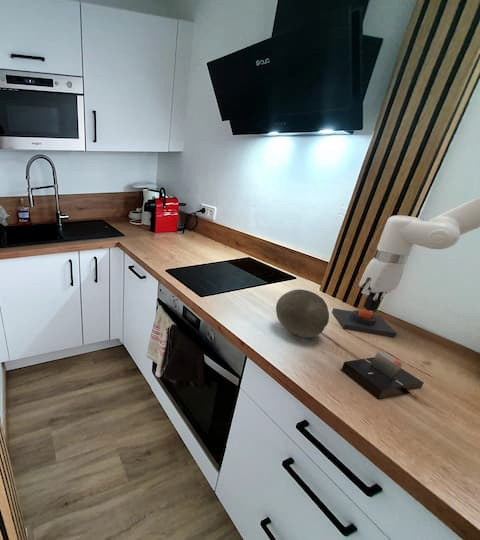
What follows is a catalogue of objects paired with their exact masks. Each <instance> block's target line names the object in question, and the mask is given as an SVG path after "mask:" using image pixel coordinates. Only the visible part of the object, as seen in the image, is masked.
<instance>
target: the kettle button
mask: <svg viewBox="0 0 480 540" xmlns="http://www.w3.org/2000/svg"><path fill="white" fill-rule="evenodd" d="M358 310H359V312H358V315H359V316H361V317H364V318H367V319H371V318H372V315H374V313H373V311H370V310H368V309H366V308H360V309H358Z"/></svg>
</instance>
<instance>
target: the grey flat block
mask: <svg viewBox="0 0 480 540" xmlns="http://www.w3.org/2000/svg"><path fill="white" fill-rule="evenodd" d="M359 310H360V309H355V310H352V311H351V310H347V309H342V308H341V309H340V308H334V307H333V308H332V310H331V314H332V316H333V317H334V319H336V321H337V323H338V324H339V325H340V327H341V329H342V330H346V331H351V332H356V333H357V332H358V333H362V334H363V333H364V334H368V335H375V336H381V337H387V338H391V339H395V338H396V335H397V334H398V333H397V331H395V330H394V329H393V328H392V326H391V325H389V324H388V323H387V321H386V320H385V319H383V317H382V316H381V315H379V314H373V315H372V318H371V319H367V318H364V317H361V316H359V315H358V312H359Z"/></svg>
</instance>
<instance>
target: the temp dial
mask: <svg viewBox="0 0 480 540" xmlns="http://www.w3.org/2000/svg"><path fill="white" fill-rule="evenodd" d="M374 357H375V358H374V360H373V362H372V364H371V366H373V367H374V368H376V369H377V370H378V371H380V372H381V373H383V374H384V375H386V376H387V377H389V378H390V379H393V378H396V376H397V374H398V372H399V370H400V368H402V367H403V363H402V362H401V361H399V359H398V360H397V359H395V358H394V357H392V356H390V355H389V354H387V353H386V352H384V351H382V350H380V351H376V354H375V355H374Z"/></svg>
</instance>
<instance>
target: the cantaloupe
mask: <svg viewBox="0 0 480 540" xmlns="http://www.w3.org/2000/svg"><path fill="white" fill-rule="evenodd" d="M275 312H276V317H277V320H278V321H279V323H280V324H281V325H282V326H283V328H285V329H286V331H288V332H289V333H291V334H293V335H295V336H298V337H301V338H314V337H318V336H319V335H321V334H322V333H323V332H324V330H325V328H326V327H327V326H328V324H329V320H330V312H329V307H328V305H327V302H326V301H325V300H324V299H323V297H321V296H320V295H319V294H317V293H315V292H313V291H311V290H306V289H300V288H299V289H298V288H297V289H293V290H290V291H288V292H285V293H283V294H282V295H281V296H280V297H279V298H278V300H277V301H276V304H275Z"/></svg>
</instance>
